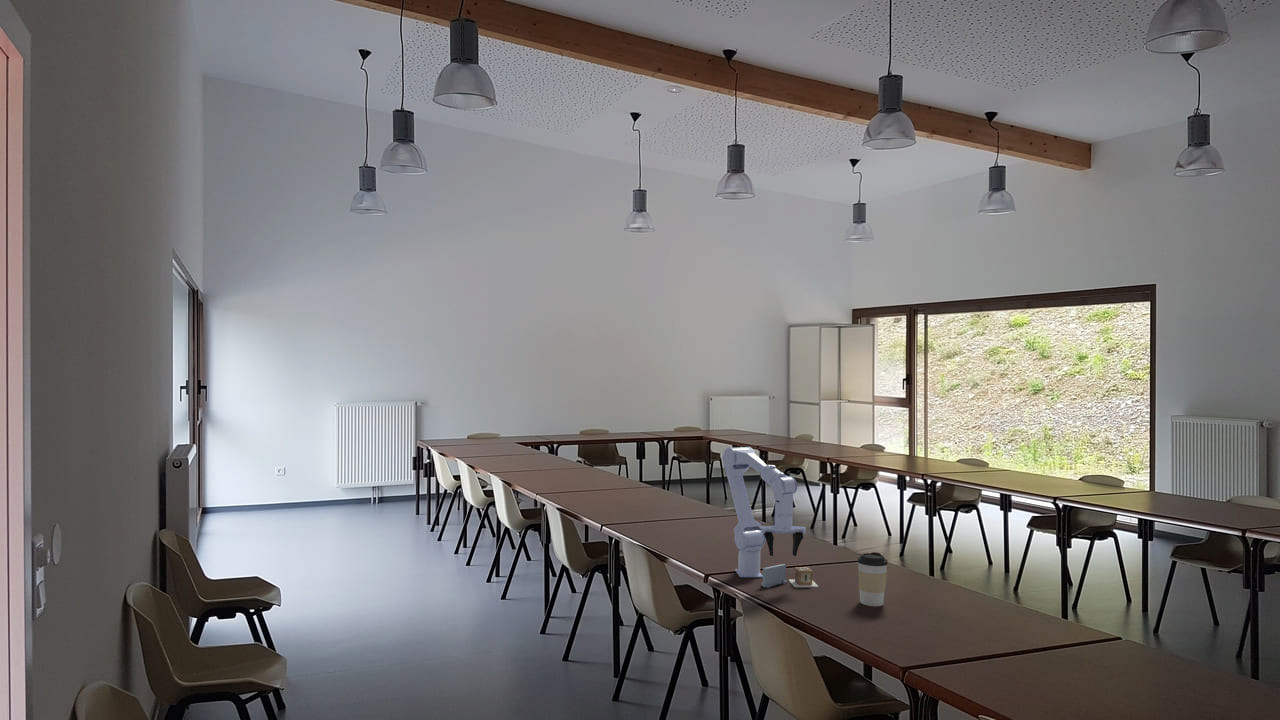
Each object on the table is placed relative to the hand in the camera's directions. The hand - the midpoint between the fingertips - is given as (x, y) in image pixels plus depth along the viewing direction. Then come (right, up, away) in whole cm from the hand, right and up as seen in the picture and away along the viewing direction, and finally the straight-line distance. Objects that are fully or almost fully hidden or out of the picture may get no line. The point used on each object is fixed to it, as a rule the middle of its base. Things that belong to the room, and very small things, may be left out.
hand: (782, 555), depth 273 cm
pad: (+8, -11, +4) cm, 14 cm away
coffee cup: (+25, -11, -16) cm, 31 cm away
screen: (-2, -10, +3) cm, 11 cm away
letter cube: (+8, -10, +4) cm, 13 cm away
